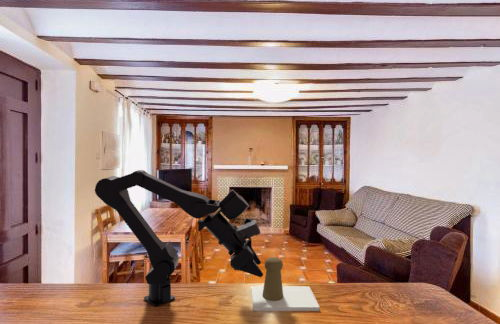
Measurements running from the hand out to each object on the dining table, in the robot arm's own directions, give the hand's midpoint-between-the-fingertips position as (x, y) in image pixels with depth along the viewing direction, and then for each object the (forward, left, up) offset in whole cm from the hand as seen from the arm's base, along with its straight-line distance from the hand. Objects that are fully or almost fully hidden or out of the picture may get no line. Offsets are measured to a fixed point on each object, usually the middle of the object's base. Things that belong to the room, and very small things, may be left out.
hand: (261, 269), depth 95 cm
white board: (+5, +5, -9) cm, 11 cm away
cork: (+3, +3, -8) cm, 9 cm away
